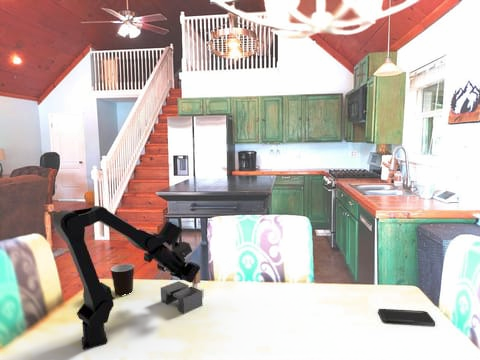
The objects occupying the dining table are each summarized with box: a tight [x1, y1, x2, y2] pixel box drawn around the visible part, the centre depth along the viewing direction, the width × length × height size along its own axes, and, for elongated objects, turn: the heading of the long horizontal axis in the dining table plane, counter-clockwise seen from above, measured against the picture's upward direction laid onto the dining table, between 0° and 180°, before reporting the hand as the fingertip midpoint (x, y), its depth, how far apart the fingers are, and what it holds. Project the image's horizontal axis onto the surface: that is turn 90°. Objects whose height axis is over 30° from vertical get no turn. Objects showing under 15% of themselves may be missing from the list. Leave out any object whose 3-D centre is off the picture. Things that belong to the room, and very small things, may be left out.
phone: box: [377, 308, 436, 326], centre depth 105 cm, size 8×1×15 cm
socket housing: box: [160, 281, 204, 315], centre depth 119 cm, size 8×14×5 cm, turn 47°
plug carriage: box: [191, 269, 205, 299], centre depth 121 cm, size 10×5×11 cm, turn 137°
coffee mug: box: [110, 263, 135, 296], centre depth 131 cm, size 12×9×10 cm
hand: (191, 278), depth 122 cm, fingers closed, pressing on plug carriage
